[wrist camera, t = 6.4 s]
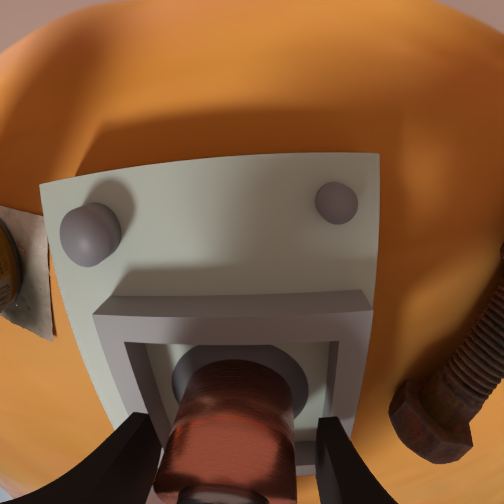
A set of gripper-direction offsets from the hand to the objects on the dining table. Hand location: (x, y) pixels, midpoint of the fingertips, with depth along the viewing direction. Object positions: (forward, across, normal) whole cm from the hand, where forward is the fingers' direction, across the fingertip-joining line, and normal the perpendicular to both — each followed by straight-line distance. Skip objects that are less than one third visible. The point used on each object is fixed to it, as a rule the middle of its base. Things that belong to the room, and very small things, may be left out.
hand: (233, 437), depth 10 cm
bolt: (+5, -13, -2) cm, 14 cm away
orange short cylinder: (+2, 0, 0) cm, 2 cm away
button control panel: (+5, +1, -2) cm, 5 cm away
